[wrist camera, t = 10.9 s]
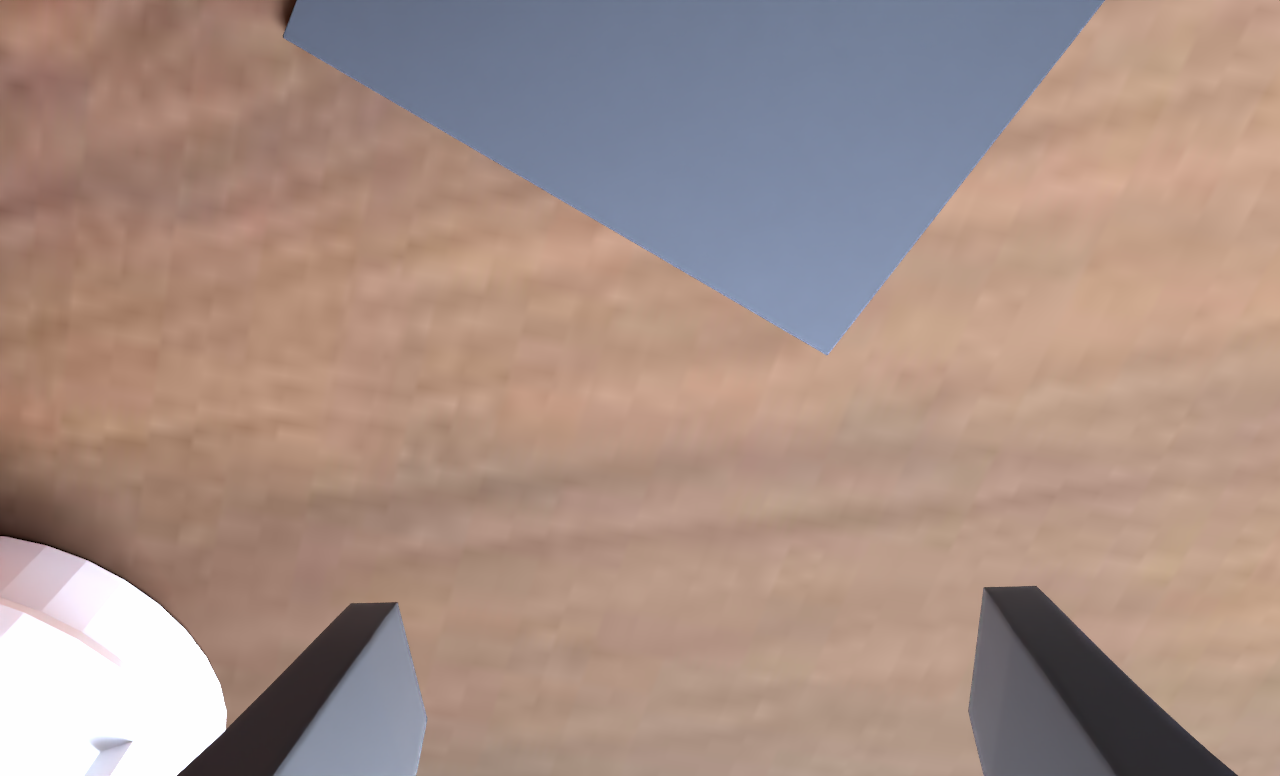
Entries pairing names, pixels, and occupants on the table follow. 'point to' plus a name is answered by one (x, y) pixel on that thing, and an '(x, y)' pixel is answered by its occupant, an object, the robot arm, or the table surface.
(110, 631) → the flag stand
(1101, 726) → the robot arm
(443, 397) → the table surface
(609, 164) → the desk mat
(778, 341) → the table surface
